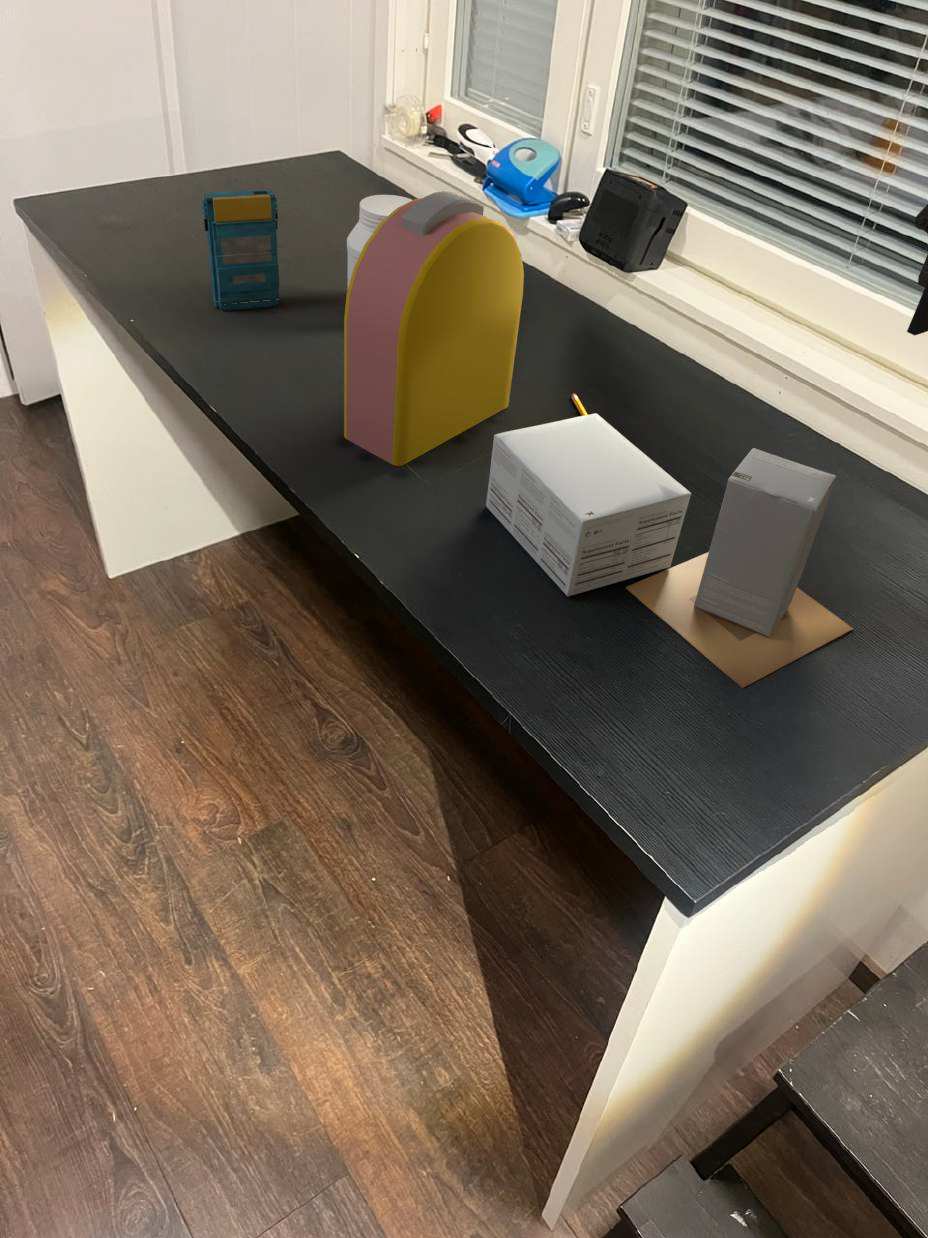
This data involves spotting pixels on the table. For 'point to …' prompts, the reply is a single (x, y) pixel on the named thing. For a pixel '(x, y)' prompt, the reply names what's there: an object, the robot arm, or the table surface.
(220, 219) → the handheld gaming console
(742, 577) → the cosmetic box
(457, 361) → the lunch box
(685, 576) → the cork mat
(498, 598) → the table surface
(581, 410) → the pencil
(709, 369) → the table surface
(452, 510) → the table surface
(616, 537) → the supplement box
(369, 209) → the jar
